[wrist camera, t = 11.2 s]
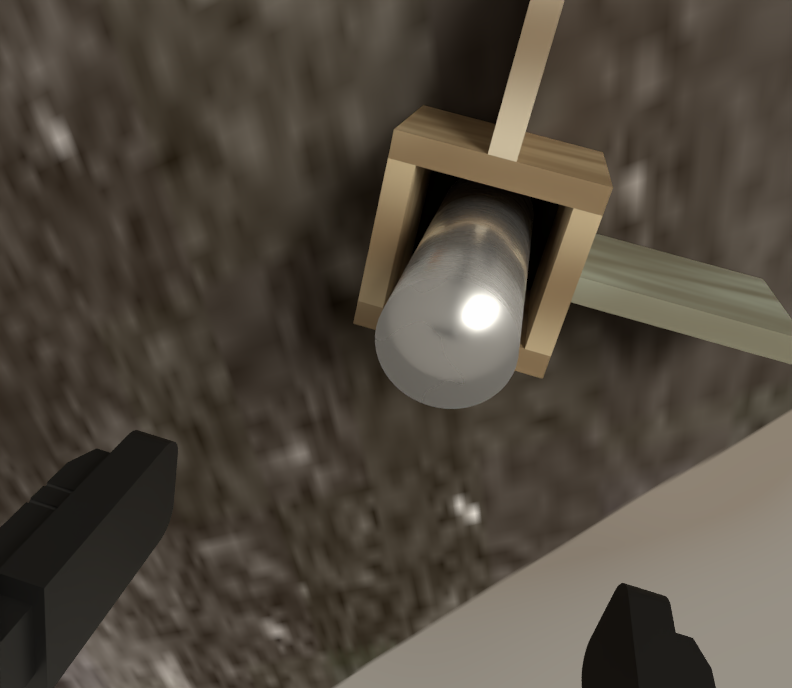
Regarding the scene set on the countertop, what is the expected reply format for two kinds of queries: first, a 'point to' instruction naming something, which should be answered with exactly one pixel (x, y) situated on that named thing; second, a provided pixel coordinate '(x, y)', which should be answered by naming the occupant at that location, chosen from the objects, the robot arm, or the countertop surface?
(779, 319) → the hinge
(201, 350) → the countertop surface
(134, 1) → the countertop surface
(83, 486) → the robot arm
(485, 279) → the hinge pin
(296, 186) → the countertop surface
